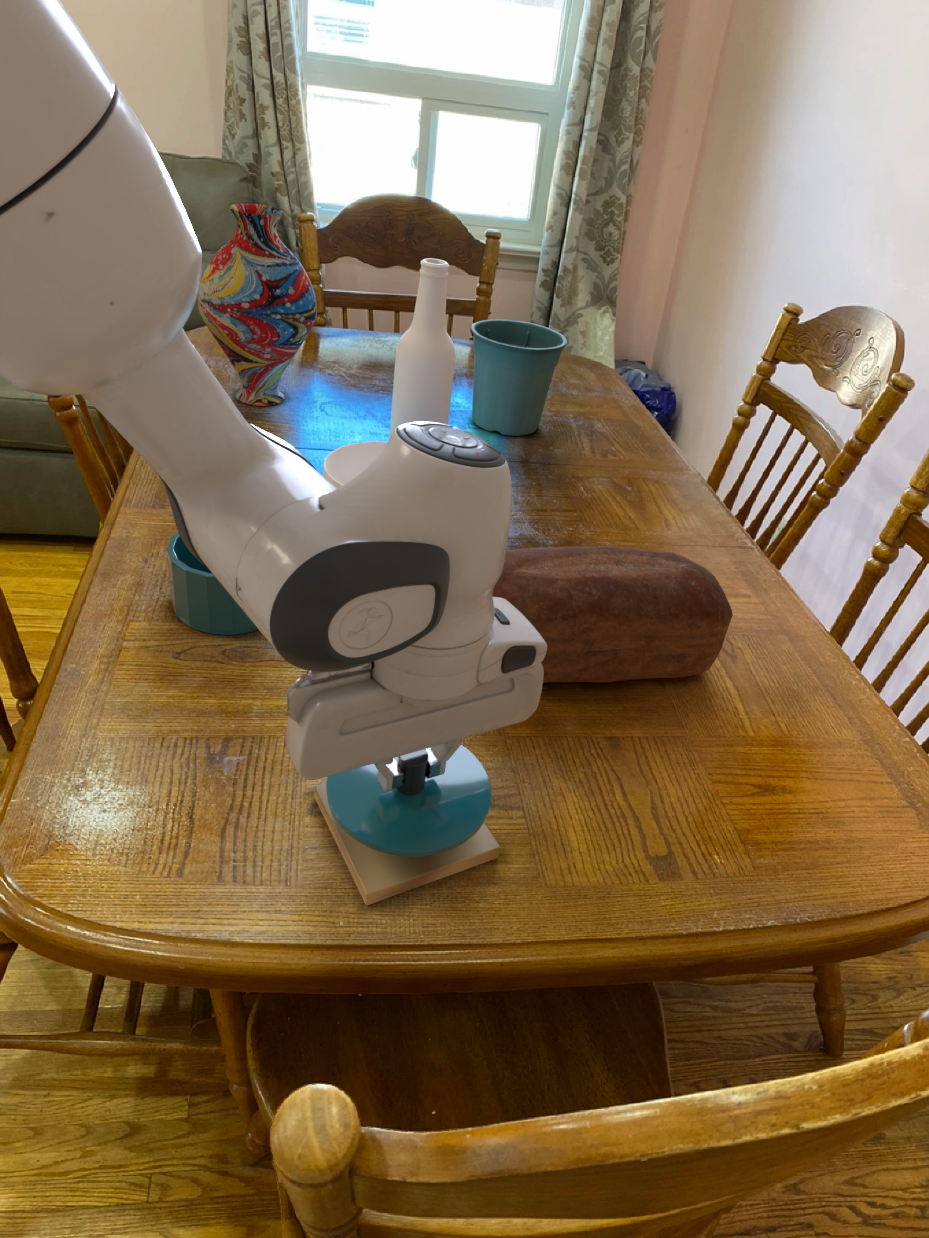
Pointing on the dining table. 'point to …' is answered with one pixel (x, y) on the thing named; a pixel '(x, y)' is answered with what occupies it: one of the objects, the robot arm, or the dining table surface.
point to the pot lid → (413, 805)
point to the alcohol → (425, 354)
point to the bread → (617, 611)
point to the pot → (202, 595)
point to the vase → (257, 303)
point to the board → (402, 859)
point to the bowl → (350, 461)
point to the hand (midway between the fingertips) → (411, 777)
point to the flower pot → (512, 374)
